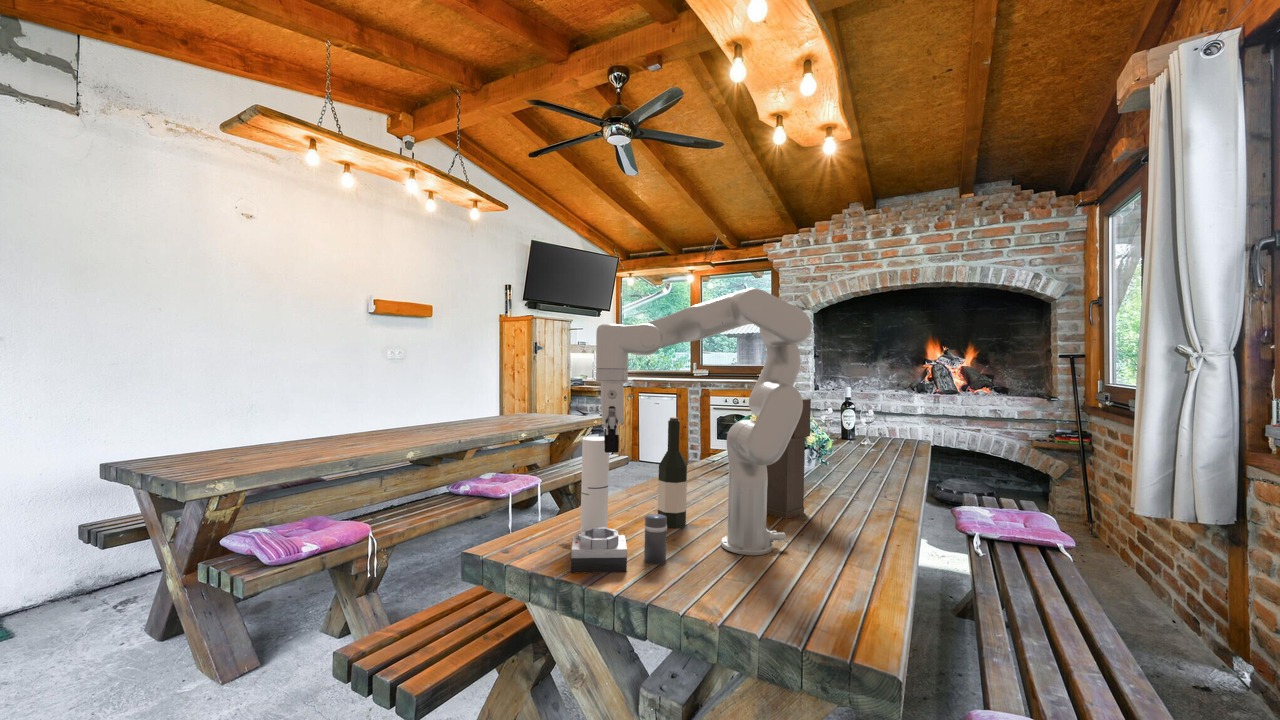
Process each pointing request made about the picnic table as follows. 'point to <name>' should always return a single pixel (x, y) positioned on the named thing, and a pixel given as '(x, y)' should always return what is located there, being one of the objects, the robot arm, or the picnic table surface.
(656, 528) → the flashlight
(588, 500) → the cylindrical container
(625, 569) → the octagonal metal flange
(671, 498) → the wine bottle
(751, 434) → the robot arm
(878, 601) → the picnic table surface
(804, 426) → the brown footed pillar
